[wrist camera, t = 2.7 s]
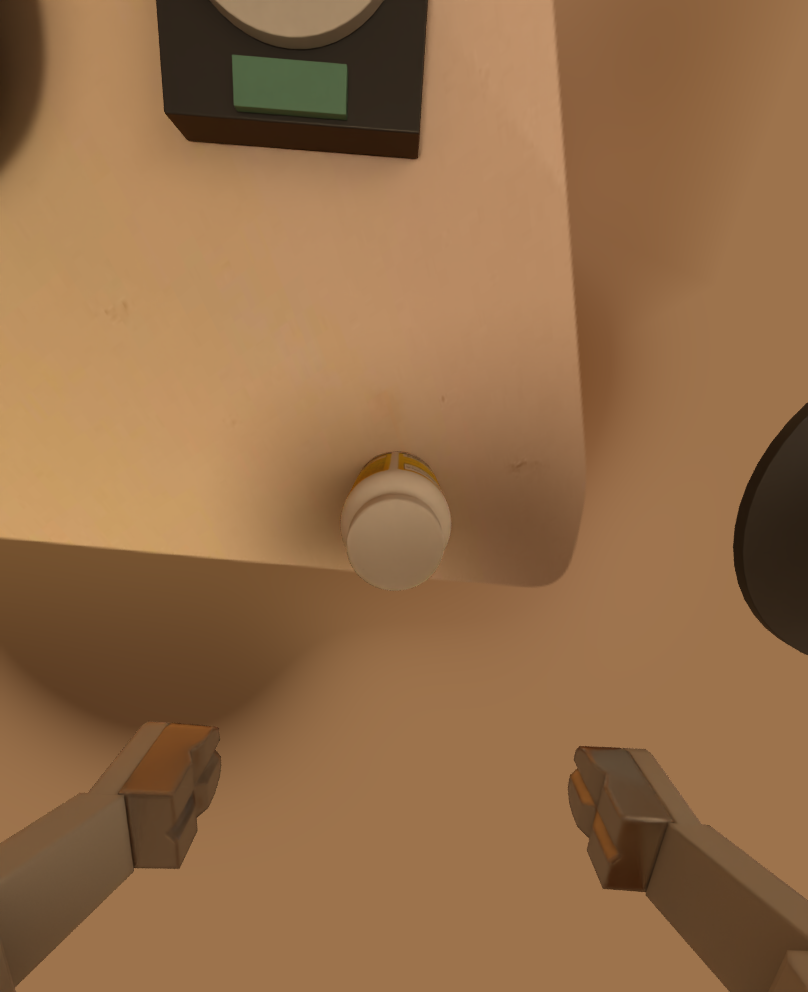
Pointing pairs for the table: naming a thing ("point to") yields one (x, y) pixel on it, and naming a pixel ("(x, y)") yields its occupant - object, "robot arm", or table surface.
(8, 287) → the table surface
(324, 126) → the scale
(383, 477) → the pill bottle
